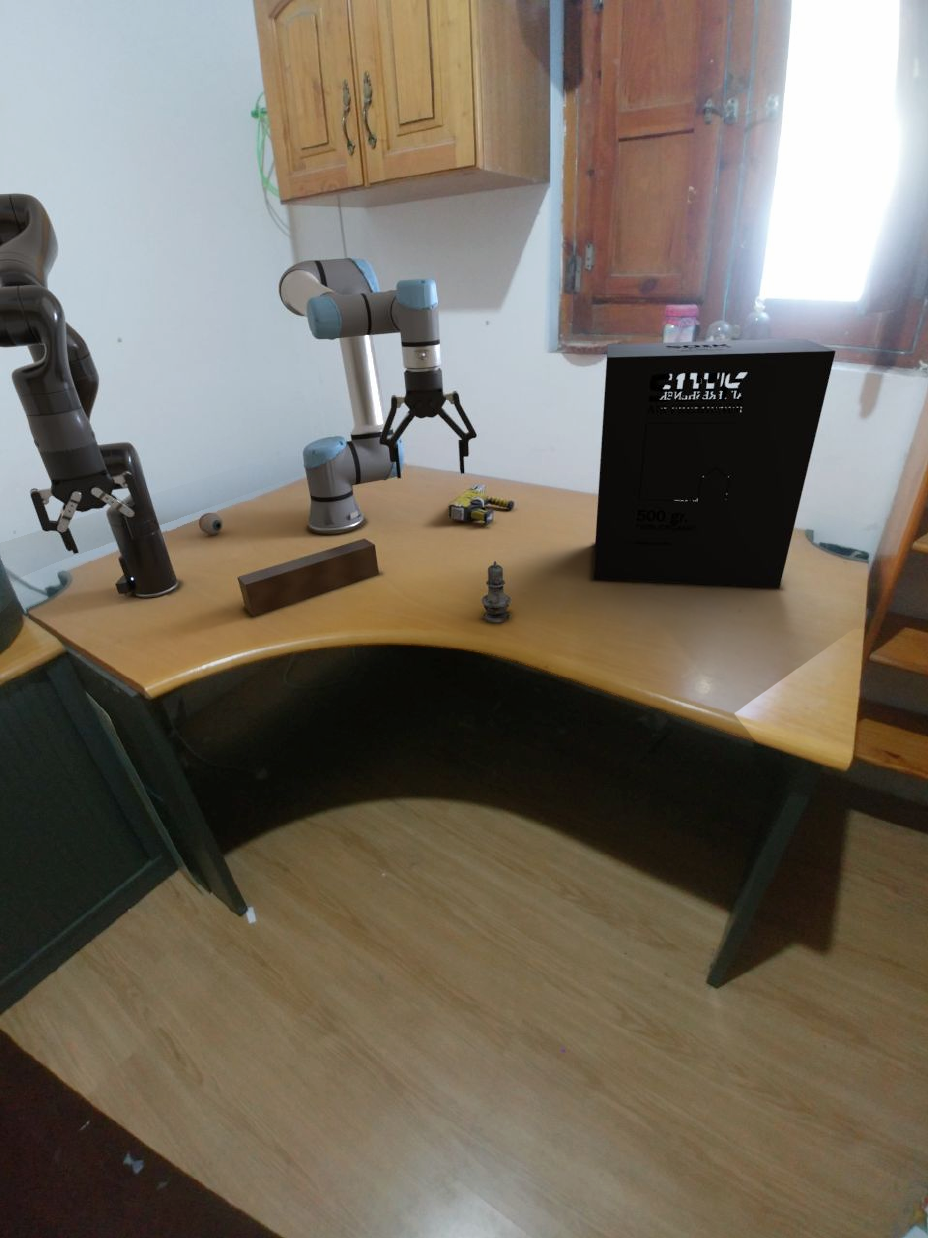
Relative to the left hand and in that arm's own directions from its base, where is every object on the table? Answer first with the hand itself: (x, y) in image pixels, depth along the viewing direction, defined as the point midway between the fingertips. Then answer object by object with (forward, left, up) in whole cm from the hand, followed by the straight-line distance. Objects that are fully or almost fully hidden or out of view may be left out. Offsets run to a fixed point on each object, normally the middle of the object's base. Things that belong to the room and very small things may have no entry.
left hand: (105, 544), depth 96 cm
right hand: (+54, +33, -3) cm, 63 cm away
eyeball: (-6, +69, -25) cm, 74 cm away
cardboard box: (+108, +23, -25) cm, 114 cm away
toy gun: (+71, +69, -25) cm, 102 cm away
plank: (+26, +28, -25) cm, 46 cm away
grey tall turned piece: (+64, +8, -25) cm, 69 cm away
